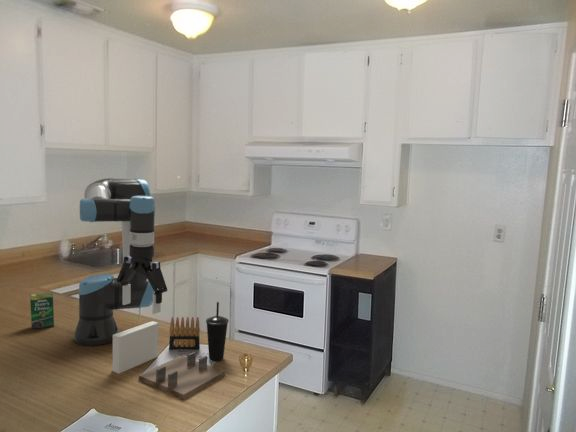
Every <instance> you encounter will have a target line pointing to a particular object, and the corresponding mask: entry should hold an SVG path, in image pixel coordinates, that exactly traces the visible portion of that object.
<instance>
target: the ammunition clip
mask: <svg viewBox="0 0 576 432" xmlns="http://www.w3.org/2000/svg"><path fill="white" fill-rule="evenodd" d="M180 320H181V321H180ZM190 320H191V321H190ZM200 330H201V329H200V318H199V316H197V317H196V319H195V318H194V317H193V316H192V317H191V319H190V318H189V316H187V317H186V321H185V319H184V316H182V317H181V319H179V316H177V317H176V319H175V318H174V317H173V316H171V319H170V327H169V340H168V341H169V343H168V351H199V350H200V347H201V345H200V344H201V343H200V333H201V332H200Z"/></svg>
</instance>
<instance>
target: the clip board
mask: <svg viewBox="0 0 576 432" xmlns="http://www.w3.org/2000/svg"><path fill="white" fill-rule="evenodd" d="M196 354H197V353H196V352H195V351H192V352H189V353H188V354H187V355H186V356H184V355H179V356H177V357H175V358H173V359H171V360H169V361H166V362H164V363H162V364H160V365H158V366H156V367H154V368H151V369H149V370H147V371H144V372H143V373H141V374H139V375H138V381H140V382H143V383H145V384H147V385H149V386H152V387H153V388H157V389H158V390H161V391H163V392H165V393H167V394H170V395H173V396H175V397H176V398H179V399H182V400H185V399H187V398H189V397H190V396H193V395H194V394H195V393H198V392H199V391H201V390H202V389H203V390H204V388H206V387H208V386H209V385H211V384H213V383H215V382H216V381H218V380H219V379H222V378H223V377H225V375H226V372H225V370H222V369H219V368H217V367H214V366H211V365H208V356H207V355H204V356H202V357H200V358H198V361H197V359H196V357H197V355H196Z"/></svg>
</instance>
